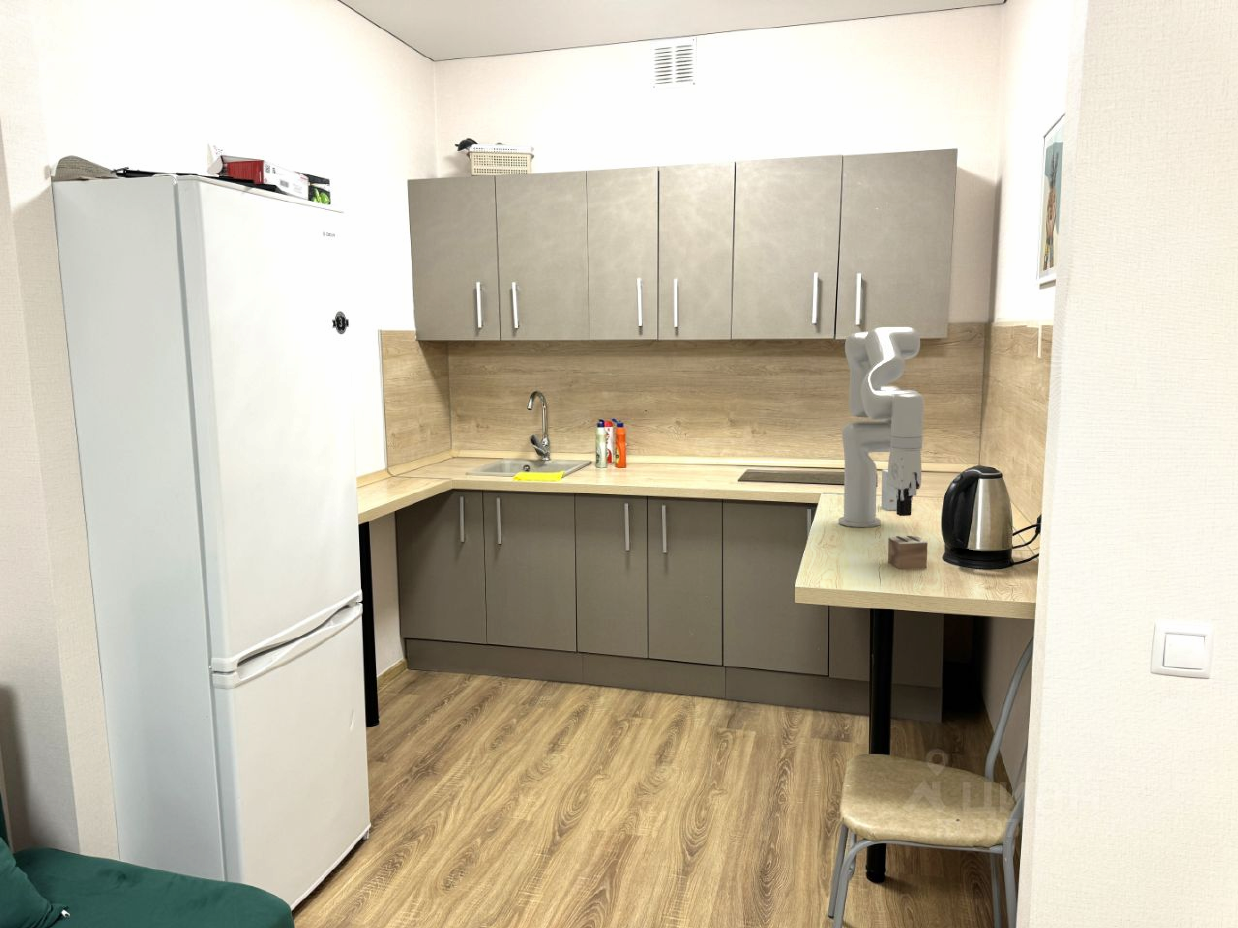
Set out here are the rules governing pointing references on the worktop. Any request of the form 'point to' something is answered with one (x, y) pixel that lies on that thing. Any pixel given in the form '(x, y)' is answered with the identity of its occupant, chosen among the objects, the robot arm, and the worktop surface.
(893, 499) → the small box
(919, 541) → the walnut block
